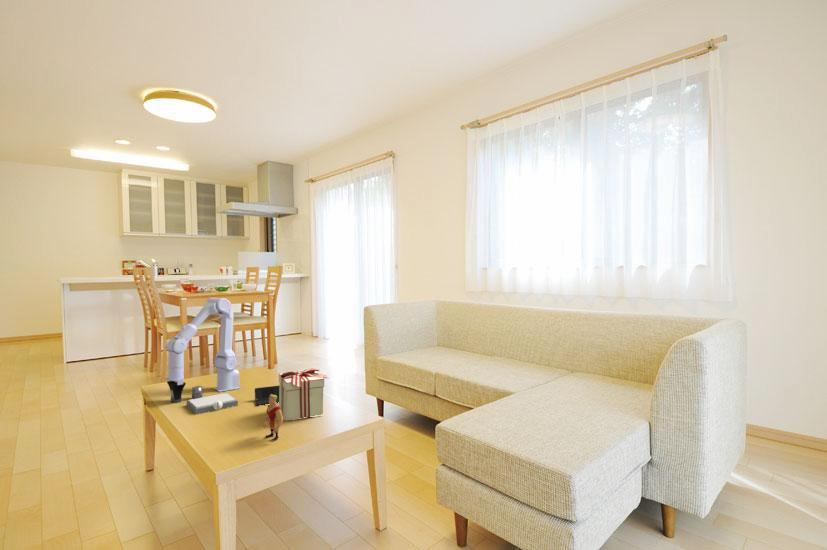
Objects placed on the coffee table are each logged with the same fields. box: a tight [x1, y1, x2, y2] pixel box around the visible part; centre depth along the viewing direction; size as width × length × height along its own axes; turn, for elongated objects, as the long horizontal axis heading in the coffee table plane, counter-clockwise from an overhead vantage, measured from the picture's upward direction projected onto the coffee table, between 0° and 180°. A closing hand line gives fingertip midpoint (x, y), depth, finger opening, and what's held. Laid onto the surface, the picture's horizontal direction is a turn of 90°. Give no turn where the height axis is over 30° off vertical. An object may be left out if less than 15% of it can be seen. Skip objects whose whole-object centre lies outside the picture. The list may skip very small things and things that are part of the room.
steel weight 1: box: [170, 390, 183, 404], centre depth 175 cm, size 4×4×5 cm
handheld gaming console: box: [254, 385, 280, 407], centre depth 176 cm, size 12×7×10 cm
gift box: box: [278, 367, 329, 422], centre depth 160 cm, size 17×18×17 cm
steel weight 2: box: [191, 385, 203, 399], centre depth 179 cm, size 4×4×5 cm
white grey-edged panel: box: [186, 392, 239, 415], centre depth 169 cm, size 16×15×4 cm
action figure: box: [262, 394, 284, 441], centre depth 136 cm, size 10×4×15 cm, turn 47°
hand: (176, 398), depth 175 cm, fingers closed on steel weight 1, 4 cm apart
